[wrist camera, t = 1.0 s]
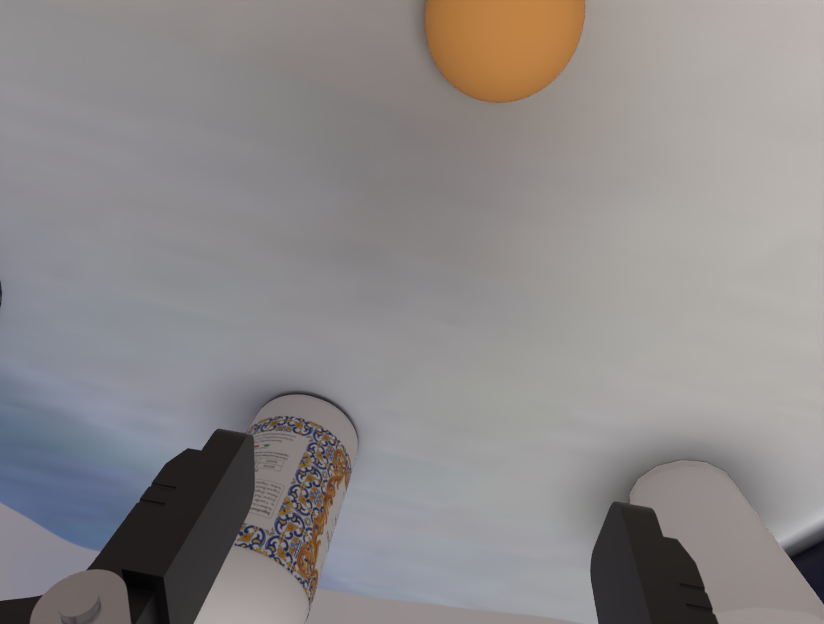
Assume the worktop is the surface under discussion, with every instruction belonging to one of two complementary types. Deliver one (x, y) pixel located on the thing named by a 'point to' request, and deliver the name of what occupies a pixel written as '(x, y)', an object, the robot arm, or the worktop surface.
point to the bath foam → (286, 514)
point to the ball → (502, 44)
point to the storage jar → (0, 294)
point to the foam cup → (727, 545)
